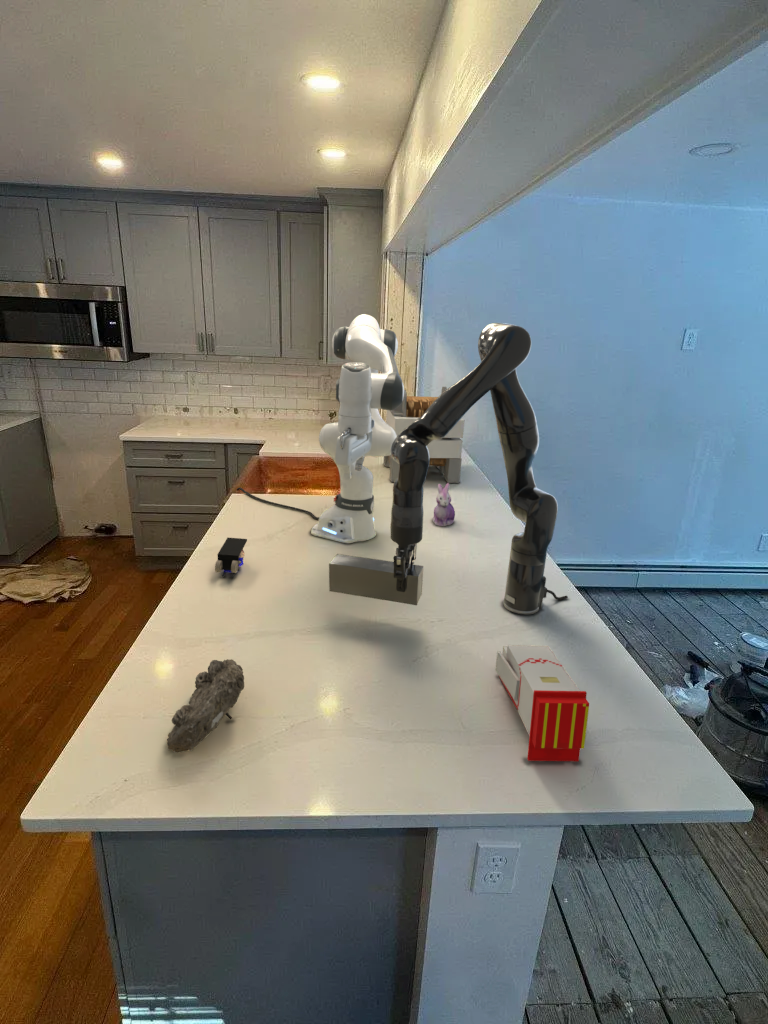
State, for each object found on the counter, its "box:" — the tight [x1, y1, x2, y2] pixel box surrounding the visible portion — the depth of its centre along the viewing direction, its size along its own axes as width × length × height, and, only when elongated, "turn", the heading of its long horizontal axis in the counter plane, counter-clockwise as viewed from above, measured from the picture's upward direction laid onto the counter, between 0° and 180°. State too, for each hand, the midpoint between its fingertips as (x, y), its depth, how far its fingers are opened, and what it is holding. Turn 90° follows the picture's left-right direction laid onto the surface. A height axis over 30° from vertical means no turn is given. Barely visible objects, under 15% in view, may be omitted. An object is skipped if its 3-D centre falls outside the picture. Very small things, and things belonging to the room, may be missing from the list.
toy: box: [494, 644, 590, 762], centre depth 112 cm, size 12×13×30 cm
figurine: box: [432, 482, 456, 527], centre depth 210 cm, size 9×10×15 cm
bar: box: [328, 553, 424, 606], centre depth 140 cm, size 22×6×8 cm, turn 74°
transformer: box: [383, 386, 465, 484], centre depth 268 cm, size 34×33×41 cm
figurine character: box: [214, 537, 248, 578], centre depth 166 cm, size 7×8×15 cm
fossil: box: [166, 658, 245, 754], centre depth 106 cm, size 22×10×15 cm
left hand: (353, 474), depth 157 cm, fingers open, 8 cm apart
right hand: (404, 584), depth 139 cm, fingers closed on bar, 6 cm apart
